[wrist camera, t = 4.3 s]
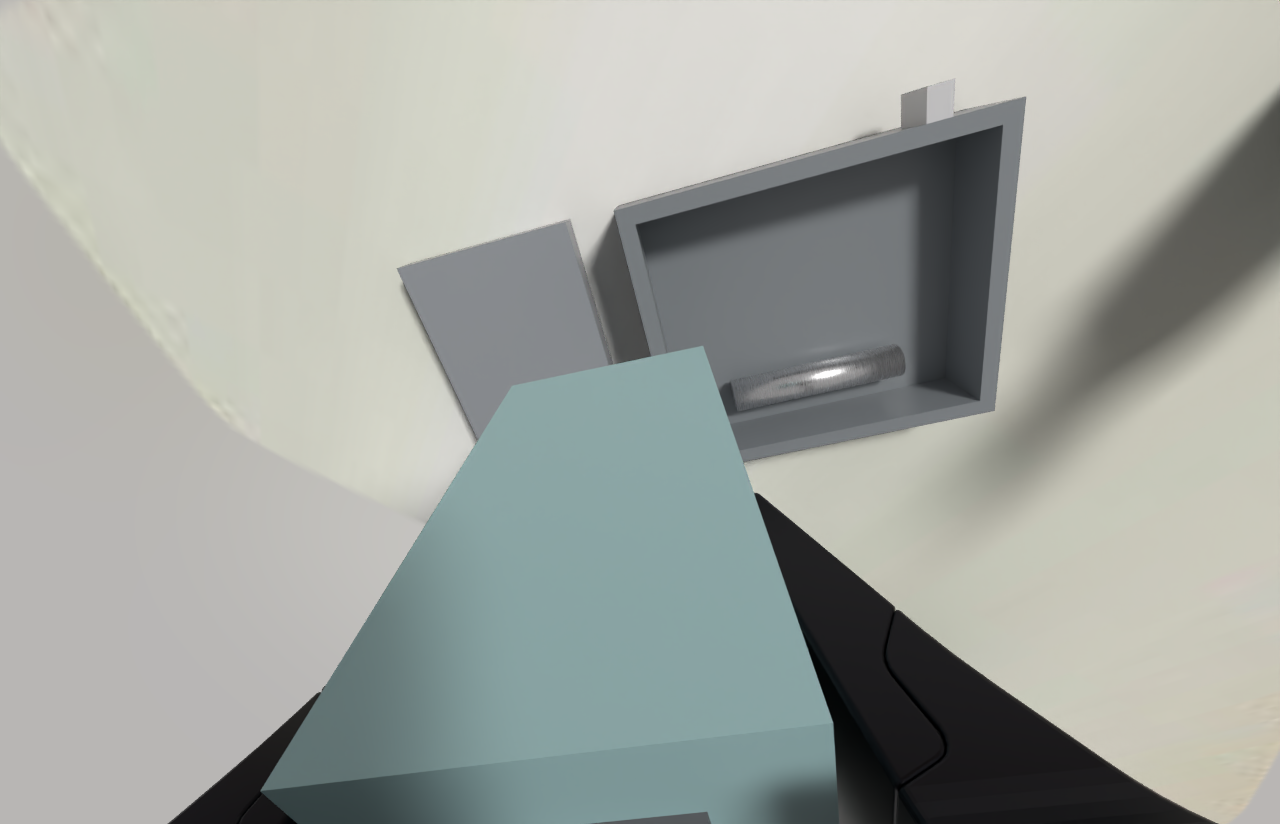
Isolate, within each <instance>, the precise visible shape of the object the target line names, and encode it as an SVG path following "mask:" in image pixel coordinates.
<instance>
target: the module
mask: <svg viewBox="0 0 1280 824" xmlns="http://www.w3.org/2000/svg"><path fill="white" fill-rule="evenodd" d="M261 792H262V793H263V794H264V795H265V796H266V797H267V798H269V799H270V800H271V801H272V802H273V803H274V804H275V805H277V806H278V807H279V808H280V809H281V810H282V811H284V812H285V813H286V814H287V815H288V816H289V817H290V818H292V819H293V820H294V821H295V822H296V823H297V824H839V810H838V794H837V778H836V761H835V745H834V729H833V721H832V718H831V715H830V713H829V710H828V707H827V704H826V701H825V698H824V695H823V692H822V689H821V686H820V684H819V681H818V678H817V675H816V672H815V669H814V666H813V663H812V660H811V657H810V655H809V652H808V649H807V646H806V643H805V640H804V637H803V634H802V631H801V628H800V626H799V623H798V620H797V617H796V614H795V611H794V608H793V605H792V602H791V599H790V597H789V594H788V591H787V588H786V585H785V582H784V579H783V576H782V573H781V570H780V568H779V565H778V562H777V559H776V556H775V553H774V550H773V547H772V544H771V541H770V539H769V536H768V533H767V530H766V527H765V524H764V521H763V518H762V515H761V512H760V509H759V507H758V504H757V501H756V498H755V495H754V492H753V489H752V486H751V483H750V480H749V478H748V475H747V472H746V469H745V466H744V463H743V460H742V457H741V454H740V451H739V449H738V446H737V443H736V440H735V437H734V434H733V431H732V428H731V425H730V422H729V420H728V417H727V414H726V411H725V408H724V405H723V402H722V399H721V396H720V393H719V391H718V388H717V385H716V382H715V379H714V376H713V373H712V370H711V367H710V364H709V362H708V359H707V356H706V353H705V350H704V347H703V346H699V347H695V348H690V349H685V350H680V351H675V352H671V353H666V354H661V355H656V356H652V357H647V358H642V359H637V360H633V361H628V362H623V363H618V364H613V365H609V366H604V367H599V368H594V369H590V370H585V371H580V372H575V373H570V374H566V375H561V376H556V377H551V378H547V379H542V380H537V381H532V382H527V383H523V384H518V385H513V386H512V387H511V388H510V390H509V391H508V393H507V395H506V396H505V398H504V399H503V401H502V403H501V404H500V406H499V408H498V409H497V411H496V412H495V414H494V416H493V417H492V419H491V420H490V422H489V424H488V425H487V427H486V428H485V430H484V432H483V433H482V435H481V436H480V438H479V440H478V441H477V443H476V445H475V446H474V448H473V449H472V451H471V453H470V454H469V456H468V457H467V459H466V461H465V462H464V464H463V465H462V467H461V469H460V470H459V472H458V473H457V475H456V477H455V478H454V480H453V482H452V483H451V485H450V486H449V488H448V490H447V491H446V493H445V494H444V496H443V498H442V499H441V501H440V502H439V504H438V506H437V507H436V509H435V511H434V512H433V514H432V515H431V517H430V519H429V520H428V522H427V523H426V525H425V527H424V528H423V530H422V531H421V533H420V535H419V536H418V538H417V540H416V541H415V543H414V544H413V546H412V548H411V549H410V551H409V552H408V554H407V556H406V557H405V559H404V560H403V562H402V564H401V565H400V567H399V568H398V570H397V572H396V573H395V575H394V577H393V578H392V580H391V581H390V583H389V585H388V586H387V588H386V589H385V591H384V593H383V594H382V596H381V597H380V599H379V601H378V602H377V604H376V605H375V607H374V609H373V610H372V612H371V614H370V615H369V617H368V618H367V620H366V622H365V623H364V625H363V626H362V628H361V630H360V631H359V633H358V635H357V636H356V638H355V639H354V641H353V643H352V644H351V646H350V647H349V649H348V651H347V652H346V654H345V655H344V657H343V659H342V661H341V662H340V663H339V665H338V667H337V668H336V670H335V671H334V673H333V675H332V676H331V678H330V680H329V681H328V683H327V684H326V686H325V688H324V689H323V691H322V692H321V694H320V696H319V697H318V699H317V700H316V702H315V704H314V705H313V707H312V708H311V710H310V712H309V713H308V715H307V717H306V718H305V720H304V721H303V723H302V725H301V726H300V728H299V729H298V731H297V733H296V734H295V736H294V737H293V739H292V741H291V742H290V744H289V746H288V747H287V749H286V750H285V752H284V754H283V755H282V757H281V758H280V760H279V762H278V763H277V765H276V766H275V768H274V770H273V771H272V773H271V774H270V776H269V778H268V779H267V781H266V783H265V784H264V786H263V787H262V789H261Z"/></svg>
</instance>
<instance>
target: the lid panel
mask: <svg viewBox="0 0 1280 824" xmlns="http://www.w3.org/2000/svg"><path fill="white" fill-rule="evenodd" d="M397 270H398V272H399V274H400V277H401V279H402V281H403V283H404V285H405V287H406V289H407V291H408V293H409V296H410V298H411V300H412V302H413V304H414V306H415V308H416V310H417V312H418V315H419V317H420V319H421V321H422V323H423V325H424V327H425V329H426V331H427V334H428V336H429V338H430V340H431V342H432V344H433V346H434V348H435V350H436V353H437V355H438V357H439V359H440V361H441V363H442V365H443V367H444V369H445V371H446V374H447V376H448V378H449V380H450V382H451V384H452V386H453V388H454V390H455V393H456V395H457V397H458V399H459V401H460V403H461V405H462V407H463V409H464V412H465V414H466V416H467V418H468V420H469V422H470V424H471V426H472V428H473V431H474V433H475V435H476V437H477V439H478V440H479V438H480V436H481V435H482V433H483V432H484V430H485V428H486V427H487V425H488V424H489V422H490V420H491V419H492V417H493V416H494V414H495V412H496V411H497V409H498V408H499V406H500V404H501V403H502V401H503V399H504V398H505V396H506V395H507V393H508V391H509V390H510V388H511V387H512V386H513V385H518V384H523V383H527V382H532V381H537V380H542V379H547V378H551V377H556V376H561V375H566V374H570V373H575V372H580V371H585V370H590V369H594V368H599V367H604V366H609V365H613V362H612V359H611V355H610V352H609V349H608V345H607V342H606V338H605V335H604V332H603V328H602V325H601V322H600V318H599V315H598V312H597V308H596V305H595V302H594V298H593V295H592V291H591V288H590V285H589V281H588V278H587V275H586V271H585V268H584V265H583V261H582V258H581V254H580V251H579V248H578V244H577V241H576V238H575V234H574V231H573V228H572V224H571V221H570V219H569V220H565V221H561V222H558V223H554V224H551V225H547V226H543V227H540V228H536V229H533V230H529V231H526V232H522V233H518V234H515V235H511V236H508V237H504V238H500V239H497V240H493V241H490V242H486V243H482V244H479V245H475V246H472V247H468V248H464V249H461V250H457V251H454V252H450V253H446V254H443V255H439V256H436V257H432V258H428V259H425V260H421V261H418V262H414V263H410V264H408V265H405V266H402V267H400V268H397Z"/></svg>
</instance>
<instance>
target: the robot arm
mask: <svg viewBox="0 0 1280 824" xmlns="http://www.w3.org/2000/svg"><path fill="white" fill-rule="evenodd" d="M754 495H755V498H756V501H757V504H758V507H759V509H760V512H761V515H762V518H763V521H764V524H765V527H766V530H767V533H768V536H769V539H770V541H771V544H772V547H773V550H774V553H775V556H776V559H777V562H778V565H779V568H780V570H781V573H782V576H783V579H784V582H785V585H786V588H787V591H788V594H789V597H790V599H791V602H792V605H793V608H794V611H795V614H796V617H797V620H798V623H799V626H800V628H801V631H802V634H803V637H804V640H805V643H806V646H807V649H808V652H809V655H810V657H811V660H812V663H813V666H814V669H815V672H816V675H817V678H818V681H819V684H820V686H821V689H822V692H823V695H824V698H825V701H826V704H827V707H828V710H829V713H830V715H831V718H832V721H833V729H834V745H835V761H836V778H837V794H838V810H839V824H1218V823H1215V822H1213V821H1211V820H1209V819H1207V818H1205V817H1202V816H1200V815H1198V814H1196V813H1194V812H1192V811H1189V810H1187V809H1186V808H1184V807H1182V806H1180V805H1178V804H1176V803H1174V802H1172V801H1170V800H1169V799H1167V798H1165V797H1163V796H1161V795H1159V794H1158V793H1156V792H1154V791H1153V790H1151V789H1149V788H1148V787H1146V786H1144V785H1143V784H1141V783H1139V782H1138V781H1136V780H1134V779H1133V778H1131V777H1130V776H1128V775H1127V774H1125V773H1124V772H1122V771H1121V770H1119V769H1118V768H1116V767H1115V766H1113V765H1112V764H1110V763H1109V762H1107V761H1106V760H1104V759H1103V758H1102V757H1100V756H1099V755H1097V754H1096V753H1094V752H1093V751H1091V750H1090V749H1089V748H1087V747H1086V746H1084V745H1083V744H1081V743H1080V742H1078V741H1077V740H1075V739H1074V738H1073V737H1071V736H1070V735H1068V734H1067V733H1065V732H1064V731H1062V730H1061V729H1060V728H1058V727H1057V726H1055V725H1054V724H1052V723H1051V722H1049V721H1048V720H1047V719H1045V718H1044V717H1042V716H1041V715H1039V714H1038V713H1036V712H1035V711H1034V710H1032V709H1031V708H1029V707H1028V706H1026V705H1025V704H1023V703H1022V702H1021V701H1019V700H1018V699H1016V698H1015V697H1013V696H1012V695H1010V694H1009V693H1007V692H1006V691H1005V690H1003V689H1002V688H1000V687H999V686H997V685H996V684H995V683H993V682H992V681H990V680H989V679H988V678H986V677H985V676H983V675H982V674H981V673H979V672H978V671H976V670H975V669H974V668H972V667H971V666H970V665H968V664H967V663H965V662H964V661H963V660H961V659H960V658H958V657H957V656H956V655H954V654H953V653H952V652H950V651H949V650H948V649H947V648H945V647H944V646H943V645H942V644H940V643H939V642H938V641H936V640H935V639H934V638H933V637H931V636H930V635H929V634H928V633H926V632H925V631H924V630H923V629H921V628H920V627H919V626H918V625H916V624H915V623H914V622H913V621H912V620H910V619H909V618H908V617H907V616H906V615H904V614H903V613H902V612H901V611H899V610H896V611H895V607H894V606H893V605H892V604H891V603H890V602H889V601H887V600H886V599H885V598H884V597H883V596H881V595H880V594H879V593H878V592H877V591H875V590H874V589H873V588H872V587H871V586H869V585H868V584H867V583H866V582H865V581H863V580H862V579H861V578H860V577H859V576H857V575H856V574H855V573H854V572H852V571H851V570H850V569H849V568H848V567H846V566H845V565H844V564H843V563H842V562H840V561H839V560H838V559H837V558H836V557H834V556H833V555H832V554H831V553H830V552H828V551H827V550H826V549H825V548H824V547H822V546H821V545H820V544H819V543H818V542H816V541H815V540H814V539H813V538H812V537H810V536H809V535H808V534H807V533H806V532H804V531H803V530H802V529H801V528H800V527H798V526H797V525H796V524H795V523H794V522H792V521H791V520H790V519H789V518H788V517H786V516H785V515H784V514H783V513H782V512H780V511H779V510H778V509H777V508H776V507H774V506H773V505H772V504H771V503H769V502H768V501H767V500H766V499H765V498H763V497H762V496H761V495H760V494H758V493H754ZM324 688H325V686H324V687H323V689H324ZM323 689H322V691H323ZM320 694H321V692H319V693H317V694H316V695H315V696H314V697H312V698H311V699H310V700H309V701H308V702H307V703H306V704H305V705H304V706H303V707H302V708H301V709H300V710H299V711H298V712H296V713H295V714H294V715H293V716H292V717H291V718H290V719H289V720H288V721H286V722H285V723H284V724H283V725H282V726H281V727H280V728H279V729H278V730H277V731H275V732H274V733H273V734H272V735H271V736H270V737H269V738H268V739H267V740H266V741H264V742H263V743H262V744H261V745H260V746H259V747H258V748H256V749H255V750H254V751H253V752H252V753H251V754H249V755H248V756H247V757H246V758H245V759H244V760H243V761H241V762H240V763H239V764H238V765H237V766H236V767H234V768H233V769H232V770H231V771H230V772H229V773H227V774H226V775H225V776H224V777H223V778H222V779H220V780H219V781H218V782H217V783H216V784H214V785H213V786H212V787H211V788H210V789H209V790H208V791H206V792H205V793H204V794H203V795H201V796H200V797H199V798H198V799H197V800H195V802H193V803H192V804H191V805H190V806H188V807H187V808H186V809H185V810H184V811H183V812H181V813H180V814H179V815H178V816H177V817H175V818H174V819H173V820H172V821H171V822H169V823H168V824H297V823H296V822H295V821H294V820H293V819H292V818H290V817H289V816H288V815H287V814H286V813H285V812H284V811H282V810H281V809H280V808H279V807H278V806H277V805H275V804H274V803H273V802H272V801H271V800H270V799H269V798H267V797H266V796H265V795H264V794H263V793H262V792H261V789H262V787H263V786H264V784H265V783H266V781H267V779H268V778H269V776H270V774H271V773H272V771H273V770H274V768H275V766H276V765H277V763H278V762H279V760H280V758H281V757H282V755H283V754H284V752H285V750H286V749H287V747H288V746H289V744H290V742H291V741H292V739H293V737H294V736H295V734H296V733H297V731H298V729H299V728H300V726H301V725H302V723H303V721H304V720H305V718H306V717H307V715H308V713H309V712H310V710H311V708H312V707H313V705H314V704H315V702H316V700H317V699H318V697H319V696H320Z"/></svg>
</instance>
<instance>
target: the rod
mask: <svg viewBox="0 0 1280 824" xmlns="http://www.w3.org/2000/svg"><path fill="white" fill-rule="evenodd" d="M905 369H906V363H905V357H904V354H903V351H902V349H901V348H900V347H899V346H898V345H897V344H891V345H886V346H882V347H878V348H873V349H869V350H864V351H860V352H855V353H851V354H846V355H842V356H838V357H833V358H829V359H824V360H820V361H815V362H811V363H807V364H802V365H798V366H793V367H789V368H784V369H780V370H775V371H771V372H767V373H762V374H758V375H753V376H749V377H744V378H740V379H735V380H731V381H730V384H731V390H732V395H733V400H734V404H735V407H736V410H737V411H742V410H746V409H751V408H756V407H760V406H765V405H769V404H774V403H779V402H783V401H788V400H792V399H797V398H802V397H806V396H811V395H815V394H820V393H825V392H829V391H834V390H839V389H843V388H848V387H852V386H857V385H862V384H866V383H871V382H875V381H880V380H885V379H889V378H894V377H899V376H902V375H903V374H904V373H905Z"/></svg>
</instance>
